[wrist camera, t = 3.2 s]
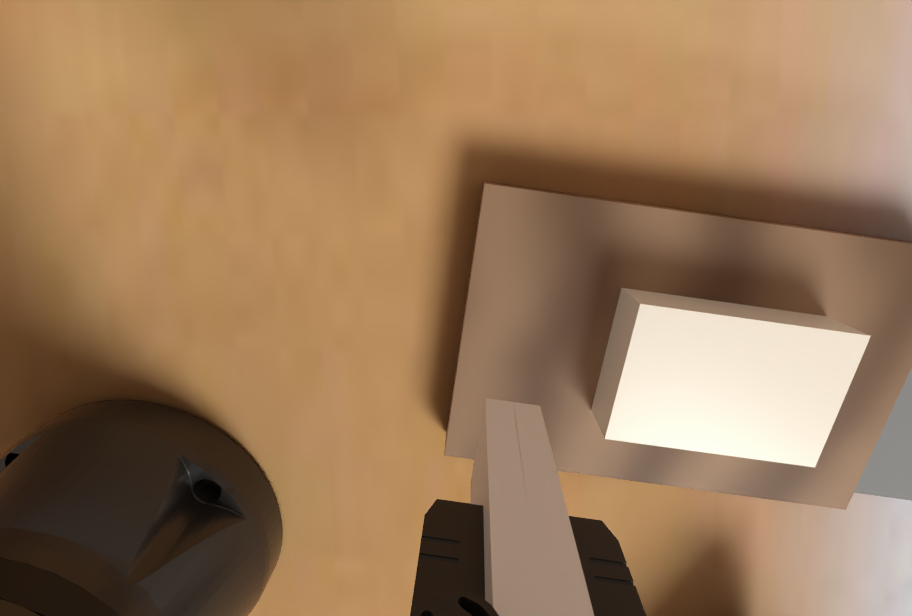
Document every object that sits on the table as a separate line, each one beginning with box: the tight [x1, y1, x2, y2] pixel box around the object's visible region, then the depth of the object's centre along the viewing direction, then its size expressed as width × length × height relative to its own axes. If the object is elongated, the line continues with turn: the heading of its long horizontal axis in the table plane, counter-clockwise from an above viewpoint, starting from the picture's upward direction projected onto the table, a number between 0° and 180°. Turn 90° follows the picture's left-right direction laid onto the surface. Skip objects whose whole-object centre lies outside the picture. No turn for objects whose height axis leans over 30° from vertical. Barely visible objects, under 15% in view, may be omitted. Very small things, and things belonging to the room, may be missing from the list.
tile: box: [591, 288, 871, 467], centre depth 20 cm, size 9×6×2 cm, turn 82°
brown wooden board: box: [444, 181, 912, 510], centre depth 22 cm, size 20×13×2 cm, turn 82°
